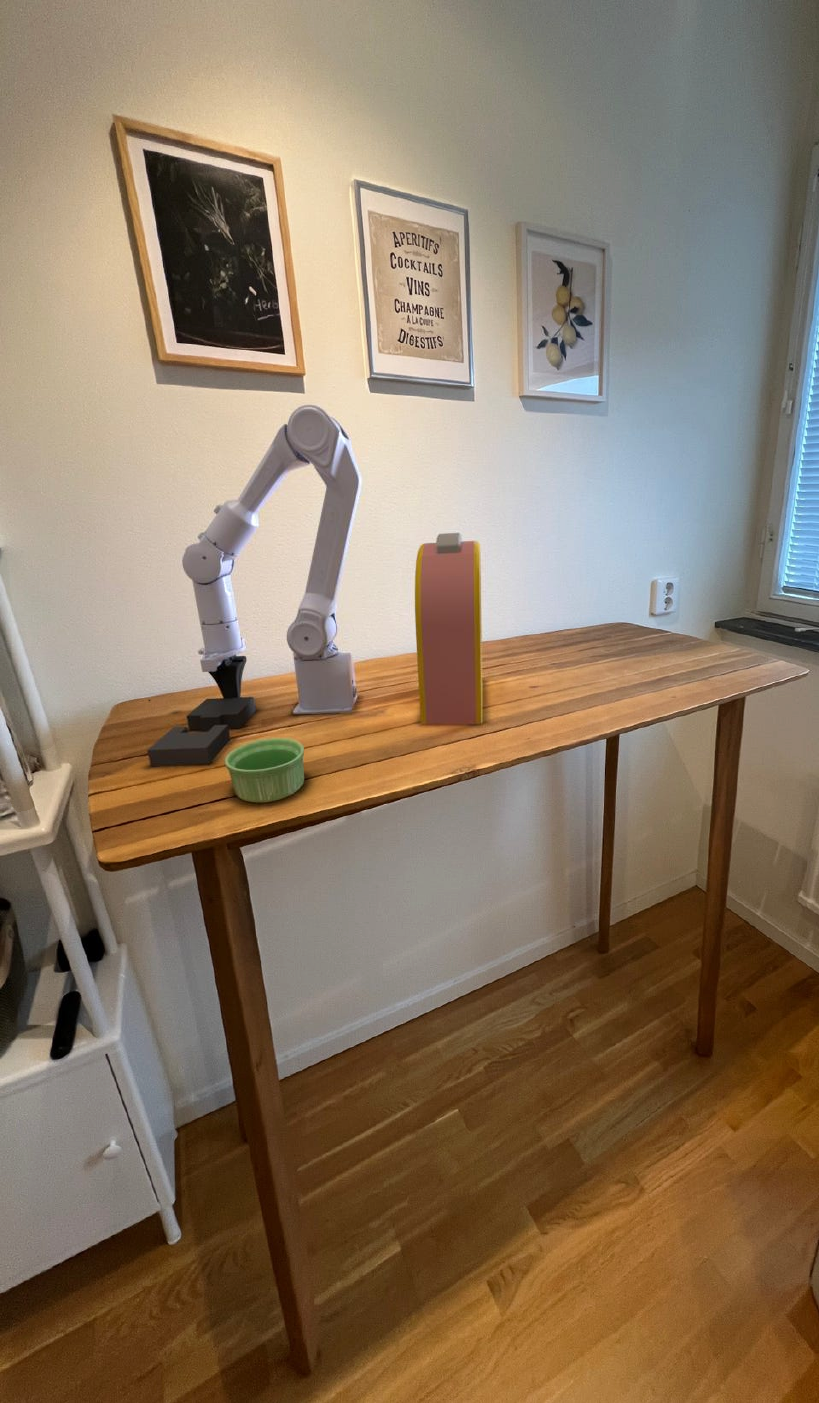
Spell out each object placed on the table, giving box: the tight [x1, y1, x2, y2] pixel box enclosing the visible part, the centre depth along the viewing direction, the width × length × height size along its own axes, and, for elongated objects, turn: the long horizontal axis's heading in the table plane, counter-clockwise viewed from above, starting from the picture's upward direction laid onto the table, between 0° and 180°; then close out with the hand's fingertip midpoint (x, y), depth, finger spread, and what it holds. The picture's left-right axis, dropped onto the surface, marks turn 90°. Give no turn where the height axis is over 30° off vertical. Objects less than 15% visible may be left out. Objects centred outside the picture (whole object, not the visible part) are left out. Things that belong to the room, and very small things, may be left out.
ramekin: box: [224, 737, 305, 803], centre depth 64 cm, size 9×9×4 cm
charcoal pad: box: [146, 725, 231, 767], centre depth 76 cm, size 8×8×2 cm
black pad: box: [186, 696, 257, 732], centre depth 87 cm, size 8×9×2 cm
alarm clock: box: [414, 532, 483, 725], centre depth 86 cm, size 21×9×26 cm, turn 173°
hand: (232, 701), depth 92 cm, fingers closed
